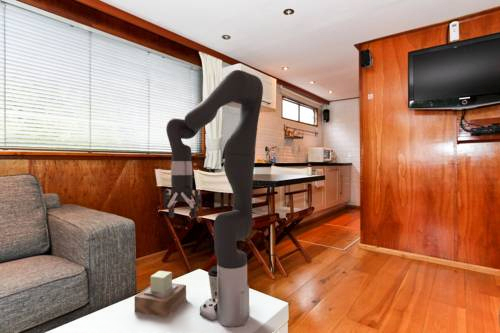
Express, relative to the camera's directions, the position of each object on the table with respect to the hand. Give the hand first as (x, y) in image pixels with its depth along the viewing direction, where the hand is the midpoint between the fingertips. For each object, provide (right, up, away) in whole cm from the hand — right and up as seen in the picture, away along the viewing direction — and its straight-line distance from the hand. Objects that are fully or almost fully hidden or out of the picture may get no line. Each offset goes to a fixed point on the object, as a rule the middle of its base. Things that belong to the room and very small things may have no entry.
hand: (182, 217), depth 100 cm
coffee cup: (+13, -28, -1) cm, 31 cm away
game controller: (+13, -29, -11) cm, 33 cm away
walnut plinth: (-5, -28, -7) cm, 30 cm away
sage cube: (-5, -23, -7) cm, 25 cm away
